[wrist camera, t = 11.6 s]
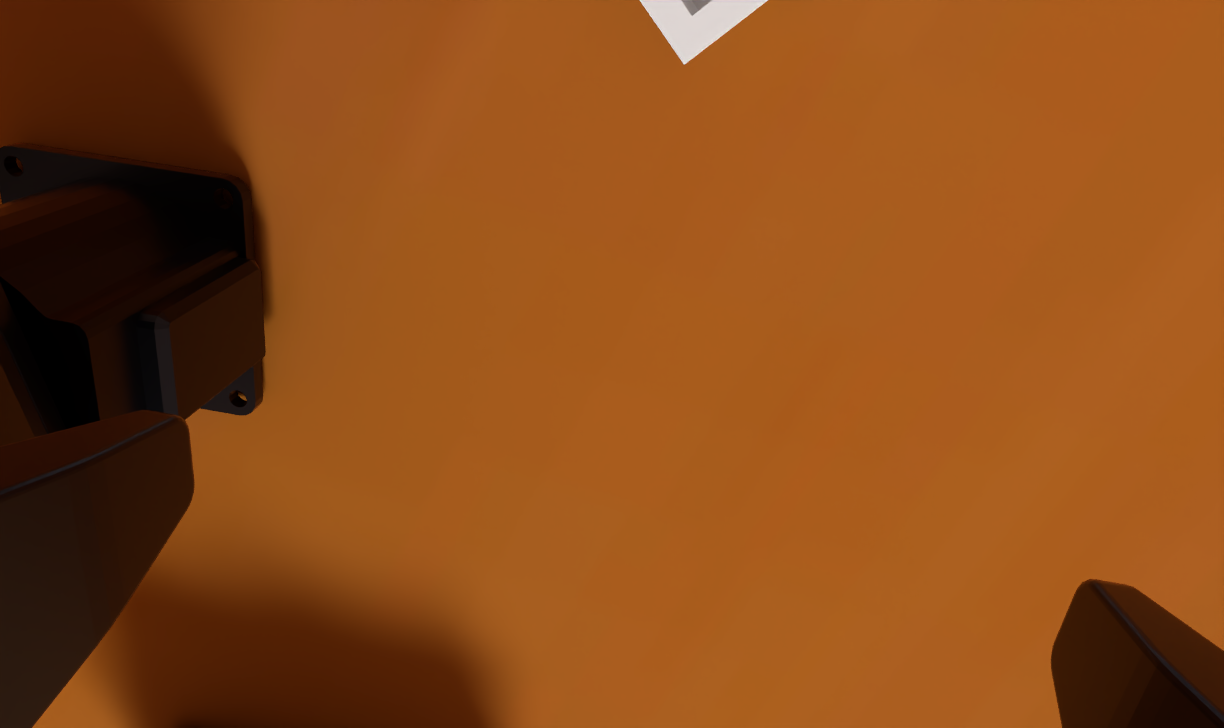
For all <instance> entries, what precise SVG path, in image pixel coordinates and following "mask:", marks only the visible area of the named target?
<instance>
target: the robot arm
mask: <svg viewBox="0 0 1224 728" xmlns="http://www.w3.org/2000/svg"><path fill="white" fill-rule="evenodd" d="M16 158H18V159H19V160H20V162H21V163H22V165H23V171H22V170H21V169H20V168H19V167H18V165H17V163H16ZM223 189H226V190H228V191H229V192H230V193H231V194H232V197H233V205H231V204H229V203H227V202H226V200H225V199H224V197H223V194H222V192H223ZM0 194H1V199H2V204H1V205H0V728H32V727H33V726H34V724H35V723H36V722H37V721H38V719H39V718H40V717H41V716H42V714H43V713H44V712H45V711H46V709H47V708H48V707H49V705H50V704H51V703H52V702H53V700H54V699H55V698H56V697H57V695H58V694H59V693H60V692H61V690H62V689H63V688H64V687H65V685H66V684H67V683H68V682H69V680H70V679H71V678H72V677H73V675H74V674H75V673H76V672H77V670H78V669H79V668H80V666H81V665H82V664H83V663H84V661H85V660H86V659H87V658H88V656H89V655H90V654H91V653H92V651H93V650H94V649H95V648H96V646H97V645H98V644H99V642H100V641H101V640H102V638H103V637H104V636H105V634H106V633H107V632H108V630H109V629H110V628H111V626H112V625H113V624H114V622H115V621H116V619H117V618H118V616H119V615H120V613H121V612H122V610H123V609H124V608H125V606H126V605H127V603H128V601H129V600H130V598H131V597H132V595H133V594H134V592H135V590H136V589H137V587H138V586H139V584H140V583H141V581H142V579H143V578H144V576H145V575H146V573H147V572H148V570H149V569H150V567H151V565H152V564H153V562H154V561H155V559H156V558H157V556H158V554H159V553H160V551H161V550H162V548H163V547H164V545H165V544H166V542H167V540H168V539H169V537H170V536H171V534H172V533H173V531H174V529H175V528H176V526H177V525H178V523H179V522H180V520H181V518H182V517H183V515H184V514H185V512H186V511H187V509H188V507H189V505H190V503H191V500H192V497H193V493H194V474H193V464H192V454H191V444H190V434H189V429H188V425H187V423H186V421H185V419H187V418H188V417H189V416H191V415H192V414H193V413H194V412H196V411H197V410H198V409H199V408H201V409H207V410H213V411H218V412H224V413H229V414H235V415H247V414H249V413H251V412H253V411H254V410H255V409H256V408H257V407H258V406H259V405H260V404H261V402H262V399H263V385H262V369H261V359H262V358H263V357H264V356H265V335H264V317H263V300H262V282H261V270H260V268H259V266H258V265H257V263H256V262H255V251H254V234H253V217H252V200H251V194H250V190H249V189H248V187H247V185H246V184H245V183H244V182H243V181H242V180H241V179H240V178H238V177H235V176H233V175H229V174H222V173H216V172H209V171H202V170H196V169H189V168H183V167H176V166H170V165H163V164H157V163H150V162H143V161H137V160H130V159H124V158H117V157H111V156H104V155H98V154H91V153H84V152H78V151H71V150H65V149H58V148H52V147H45V146H39V145H32V144H25V143H15V144H11V145H7V146H3V147H2V148H0ZM237 390H238V391H240V392H242V393H243V394H244V395H245V396H246V399H247V401H245V400H243V399H241V398H240V397H239V396H238V393H237ZM1051 669H1052V676H1053V681H1054V687H1055V692H1056V697H1057V703H1058V708H1059V713H1060V719H1061V724H1062V728H1224V651H1223V650H1222V649H1220V648H1219V647H1217V646H1216V645H1215V644H1213V643H1212V642H1210V641H1209V640H1208V639H1206V638H1205V637H1203V636H1202V635H1201V634H1199V633H1198V632H1196V631H1195V630H1194V629H1192V628H1191V627H1189V626H1188V625H1186V624H1185V623H1184V622H1182V621H1181V620H1179V619H1178V618H1177V617H1175V616H1174V615H1172V614H1171V613H1170V612H1168V611H1167V610H1165V609H1164V608H1163V607H1161V606H1160V605H1158V604H1157V603H1156V602H1154V601H1153V600H1151V599H1150V598H1148V597H1147V596H1146V595H1144V594H1143V593H1141V592H1140V591H1139V590H1137V589H1136V588H1134V587H1131V586H1128V585H1124V584H1119V583H1113V582H1107V581H1102V580H1096V579H1089V580H1087V581H1085V582H1082V584H1081V585H1080V586H1079V587H1078V589H1077V590H1076V592H1075V594H1074V597H1073V599H1072V601H1071V604H1070V606H1069V609H1068V611H1067V613H1066V616H1065V618H1064V620H1063V623H1062V625H1061V628H1060V630H1059V632H1058V635H1057V637H1056V639H1055V642H1054V645H1053V649H1052V655H1051Z"/></svg>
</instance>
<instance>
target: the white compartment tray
mask: <svg viewBox="0 0 1224 728" xmlns="http://www.w3.org/2000/svg"><path fill="white" fill-rule="evenodd" d="M640 1H641V3H642V4H643V6H644V7H645V9H646V10H647V11H648V13H649V14H650V16H651V17H652V19H653V20H654V22H655V23H656V24H657V26H658V27H659V29H660V30H661V32H662V33H663V35H664V36H665V38H666V39H667V40H668V42H669V43H670V45H671V46H672V48H673V49H674V51H675V52H676V53H677V55H678V56H679V58H680V59H681V61H682V62H683V64H684V65H685V64H686V63H687V62H688V61H690V60H691V59H692V58H694V57H695V56H696V55H697V54H699V53H700V52H701V51H703V50H704V49H705V48H707V47H708V46H709V45H710V44H712V43H713V42H714V41H716V40H717V39H718V38H720V37H721V36H722V35H723V34H725V33H726V32H727V31H729V30H730V29H731V28H733V27H734V26H735V25H736V24H738V23H739V22H740V21H742V20H743V19H744V18H745V17H747V16H748V15H749V14H751V13H752V12H753V11H755V10H756V9H757V8H758V7H760V6H761V5H762V4H764V3H765V2H766V1H768V0H640Z"/></svg>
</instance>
